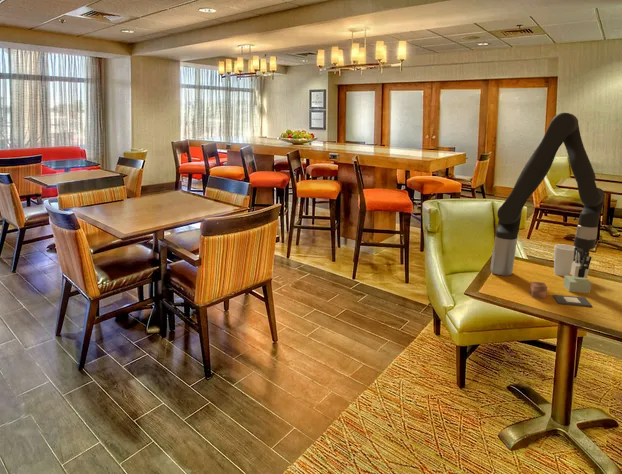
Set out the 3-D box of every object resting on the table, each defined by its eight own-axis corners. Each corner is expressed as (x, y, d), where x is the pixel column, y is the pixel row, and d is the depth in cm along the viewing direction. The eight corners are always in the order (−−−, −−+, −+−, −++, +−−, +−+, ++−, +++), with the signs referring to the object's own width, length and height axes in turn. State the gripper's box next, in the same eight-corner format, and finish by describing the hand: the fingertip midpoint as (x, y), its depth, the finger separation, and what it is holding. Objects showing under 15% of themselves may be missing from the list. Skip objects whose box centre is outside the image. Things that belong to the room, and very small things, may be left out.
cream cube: (574, 277, 194) (576, 266, 192) (570, 273, 198) (572, 262, 197) (587, 278, 193) (589, 267, 191) (583, 274, 197) (585, 263, 196)
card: (558, 303, 182) (558, 302, 182) (552, 295, 189) (552, 294, 189) (591, 306, 179) (592, 305, 179) (584, 298, 187) (585, 297, 187)
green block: (568, 291, 194) (570, 281, 193) (563, 284, 202) (564, 275, 201) (589, 293, 193) (591, 283, 191) (583, 286, 200) (585, 276, 199)
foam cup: (577, 277, 210) (581, 250, 206) (556, 277, 210) (561, 250, 206) (566, 270, 219) (570, 244, 215) (546, 270, 219) (550, 243, 215)
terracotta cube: (532, 297, 188) (533, 286, 187) (529, 292, 193) (531, 281, 191) (545, 298, 187) (547, 287, 185) (542, 293, 192) (544, 282, 190)
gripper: (570, 231, 198) (564, 268, 203) (581, 240, 185) (574, 280, 190) (589, 232, 197) (582, 269, 201) (602, 241, 183) (594, 281, 188)
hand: (578, 274), depth 195 cm, fingers closed on cream cube, 4 cm apart
